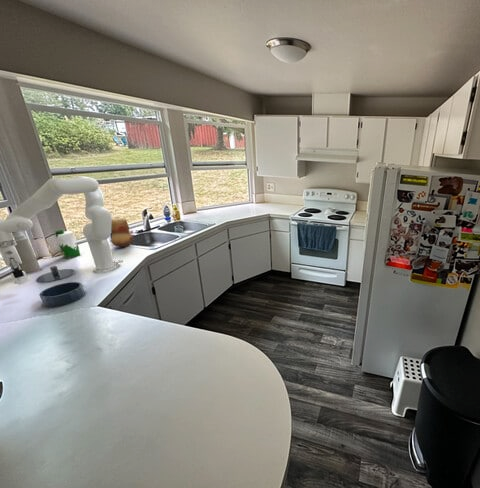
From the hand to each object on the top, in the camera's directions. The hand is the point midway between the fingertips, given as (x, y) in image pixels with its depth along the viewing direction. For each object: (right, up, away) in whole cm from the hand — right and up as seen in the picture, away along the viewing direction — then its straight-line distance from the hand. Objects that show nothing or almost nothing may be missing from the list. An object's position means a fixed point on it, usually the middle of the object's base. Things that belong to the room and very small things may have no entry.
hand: (18, 274), depth 133 cm
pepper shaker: (0, -5, +2) cm, 5 cm away
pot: (+25, -13, 0) cm, 28 cm away
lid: (-3, -3, +22) cm, 23 cm away
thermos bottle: (-25, -1, +28) cm, 37 cm away
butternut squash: (-1, +14, +71) cm, 73 cm away
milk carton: (-24, +8, +52) cm, 58 cm away
